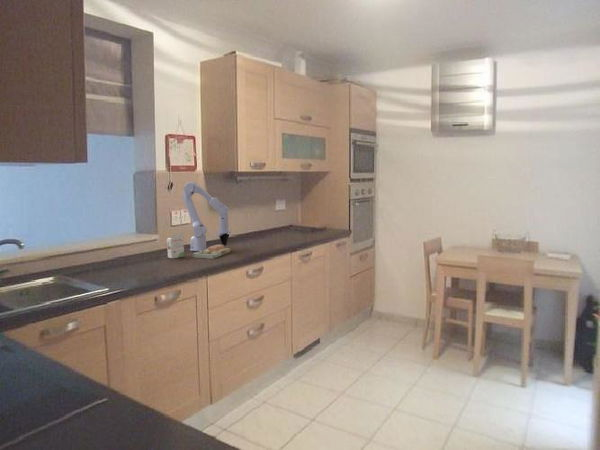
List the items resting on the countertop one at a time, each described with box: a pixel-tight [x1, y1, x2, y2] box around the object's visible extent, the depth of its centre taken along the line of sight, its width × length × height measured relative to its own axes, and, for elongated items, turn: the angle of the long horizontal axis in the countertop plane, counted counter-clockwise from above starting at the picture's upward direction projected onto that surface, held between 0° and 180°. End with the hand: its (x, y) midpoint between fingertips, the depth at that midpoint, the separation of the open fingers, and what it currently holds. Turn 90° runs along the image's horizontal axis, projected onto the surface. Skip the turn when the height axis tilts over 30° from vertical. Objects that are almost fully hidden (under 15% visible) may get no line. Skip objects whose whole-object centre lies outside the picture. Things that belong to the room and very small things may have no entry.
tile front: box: [207, 245, 219, 251], centre depth 273 cm, size 5×5×2 cm
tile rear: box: [213, 244, 225, 249], centre depth 279 cm, size 5×5×2 cm
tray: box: [192, 251, 221, 260], centre depth 266 cm, size 14×9×2 cm
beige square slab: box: [202, 247, 231, 257], centre depth 276 cm, size 13×12×2 cm
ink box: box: [166, 231, 185, 259], centre depth 264 cm, size 9×5×15 cm, turn 134°
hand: (224, 245), depth 286 cm, fingers closed
